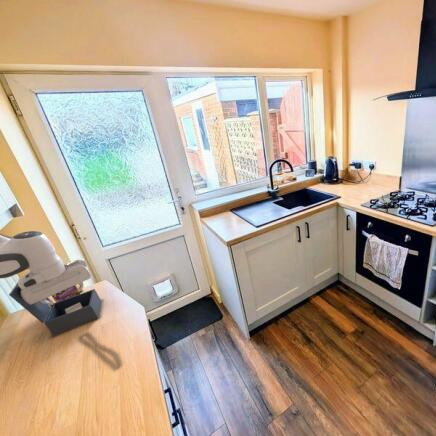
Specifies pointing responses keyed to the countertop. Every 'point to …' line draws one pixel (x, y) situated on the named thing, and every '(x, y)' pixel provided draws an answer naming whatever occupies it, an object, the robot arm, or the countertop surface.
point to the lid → (35, 309)
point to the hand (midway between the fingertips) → (67, 298)
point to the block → (74, 308)
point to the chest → (64, 322)
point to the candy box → (66, 293)
